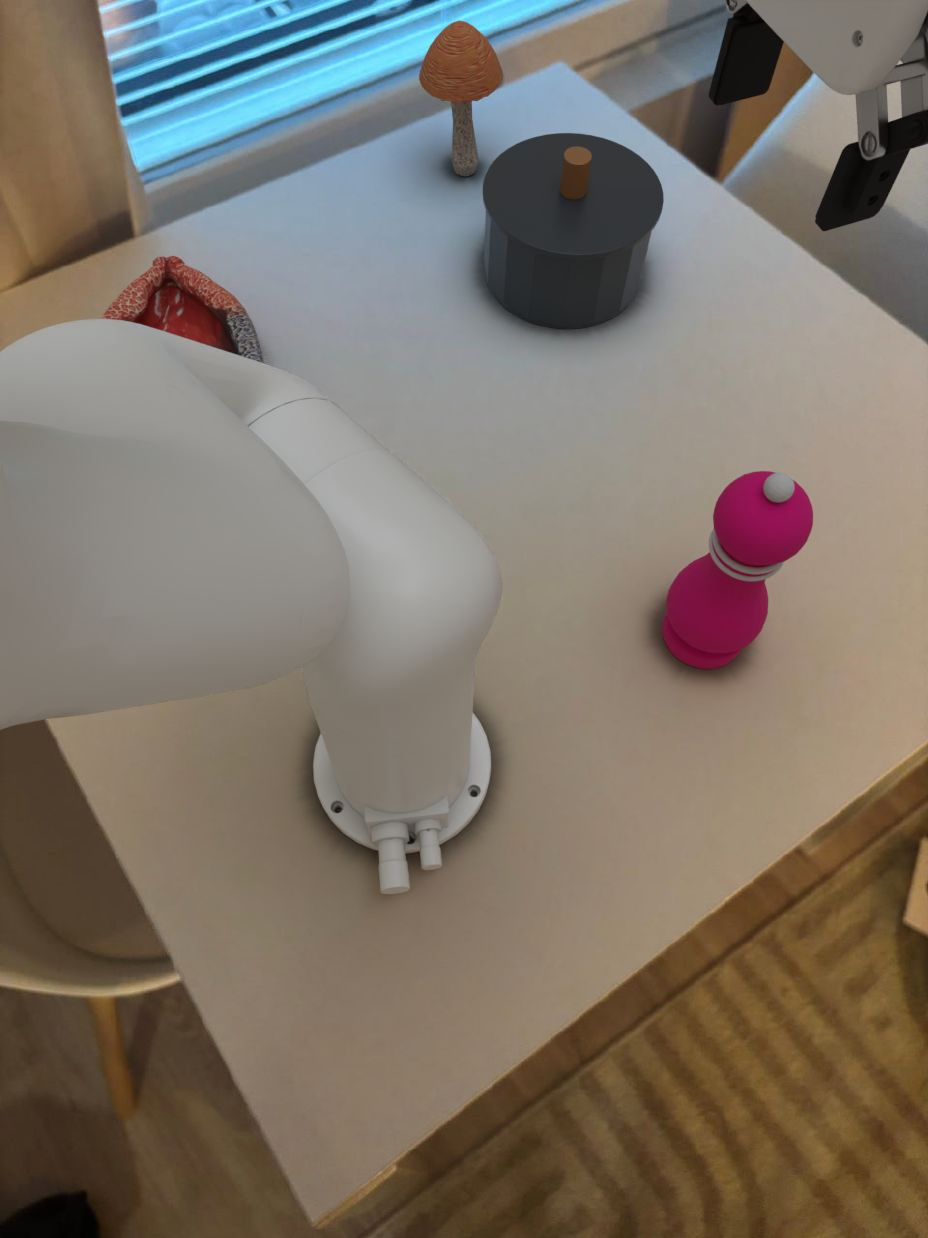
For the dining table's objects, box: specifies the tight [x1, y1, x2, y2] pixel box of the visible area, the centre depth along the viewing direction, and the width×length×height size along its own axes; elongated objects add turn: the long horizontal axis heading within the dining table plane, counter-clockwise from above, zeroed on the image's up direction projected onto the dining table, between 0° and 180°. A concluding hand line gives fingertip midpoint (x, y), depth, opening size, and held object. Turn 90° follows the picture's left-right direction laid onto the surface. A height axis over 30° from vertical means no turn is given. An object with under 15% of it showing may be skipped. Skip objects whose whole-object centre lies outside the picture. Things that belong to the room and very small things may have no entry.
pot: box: [483, 210, 653, 330], centre depth 87 cm, size 15×15×8 cm
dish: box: [100, 255, 264, 363], centre depth 80 cm, size 16×31×5 cm, turn 5°
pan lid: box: [481, 132, 665, 259], centre depth 82 cm, size 16×16×5 cm
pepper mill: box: [661, 470, 814, 670], centre depth 64 cm, size 7×7×20 cm
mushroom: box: [418, 20, 504, 177], centre depth 91 cm, size 8×8×15 cm
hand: (788, 155), depth 45 cm, fingers open, 9 cm apart
